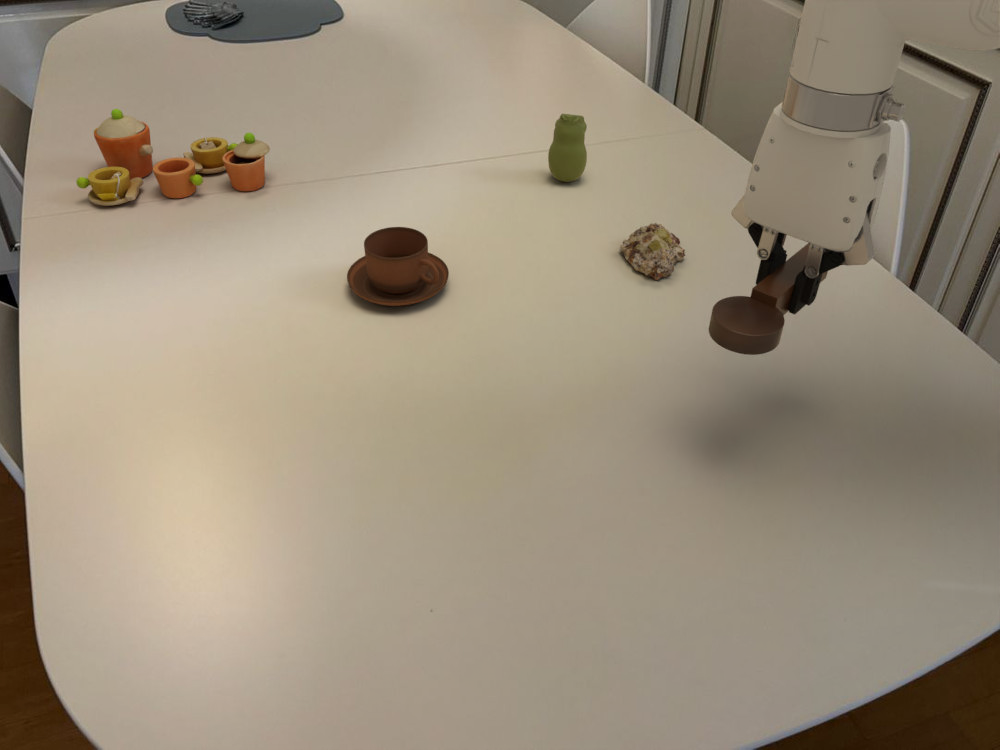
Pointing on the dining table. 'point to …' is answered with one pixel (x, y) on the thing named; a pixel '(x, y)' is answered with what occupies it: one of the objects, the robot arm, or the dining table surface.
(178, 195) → the toy tea set
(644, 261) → the mineral rock
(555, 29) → the dining table surface
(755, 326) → the brown handled disc
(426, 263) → the cup and saucer
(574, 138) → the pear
